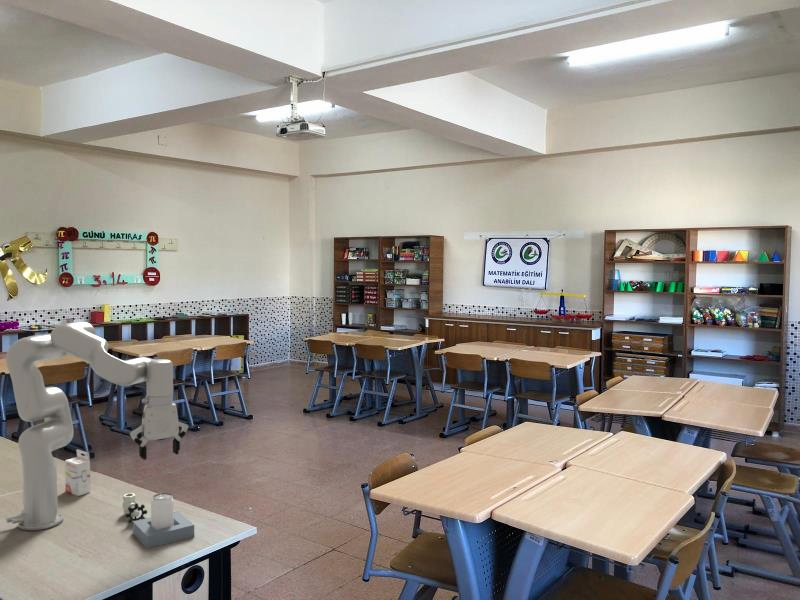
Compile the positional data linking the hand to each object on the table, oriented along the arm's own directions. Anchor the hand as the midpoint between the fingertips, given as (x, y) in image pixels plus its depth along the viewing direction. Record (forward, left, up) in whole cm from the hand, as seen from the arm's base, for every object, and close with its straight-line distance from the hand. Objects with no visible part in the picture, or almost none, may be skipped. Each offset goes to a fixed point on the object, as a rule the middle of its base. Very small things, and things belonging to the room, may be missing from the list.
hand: (159, 455), depth 199 cm
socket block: (+1, -1, -24) cm, 24 cm away
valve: (-3, +18, -25) cm, 31 cm away
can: (0, -1, -25) cm, 25 cm away
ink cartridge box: (-11, +55, -25) cm, 62 cm away
